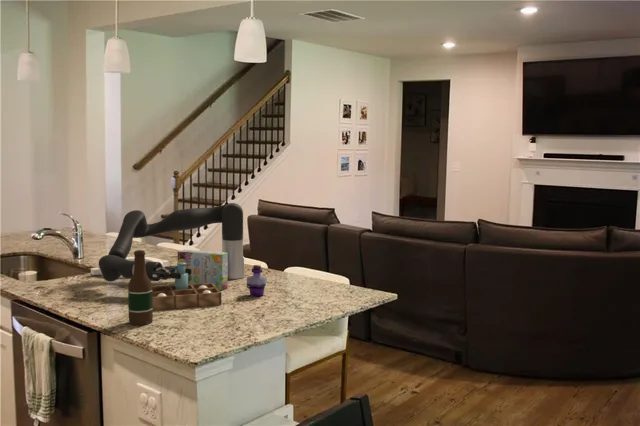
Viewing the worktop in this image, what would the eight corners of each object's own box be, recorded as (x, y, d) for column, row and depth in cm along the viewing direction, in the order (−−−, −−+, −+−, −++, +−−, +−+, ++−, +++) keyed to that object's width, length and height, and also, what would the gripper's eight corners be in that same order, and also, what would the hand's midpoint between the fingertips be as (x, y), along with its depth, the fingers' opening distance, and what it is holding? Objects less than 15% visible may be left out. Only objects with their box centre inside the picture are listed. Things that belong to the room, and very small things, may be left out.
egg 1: (166, 302, 221) (166, 291, 220) (168, 305, 217) (168, 294, 217) (155, 303, 219) (155, 292, 219) (156, 305, 216) (156, 294, 215)
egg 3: (211, 299, 227) (211, 288, 226) (213, 301, 223) (213, 291, 222) (200, 299, 225) (200, 289, 225) (202, 302, 221) (202, 291, 221)
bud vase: (186, 295, 232) (187, 261, 231) (188, 298, 227) (189, 264, 226) (174, 295, 230) (174, 262, 229) (175, 298, 226) (176, 264, 224)
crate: (212, 294, 237) (212, 282, 237) (221, 304, 221) (221, 292, 221) (146, 298, 228) (146, 286, 228) (150, 310, 212) (150, 297, 212)
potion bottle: (243, 293, 239) (243, 264, 238) (263, 291, 243) (264, 262, 241) (249, 298, 231) (249, 268, 230) (270, 296, 235) (270, 266, 234)
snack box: (228, 288, 248) (228, 252, 247) (221, 291, 243) (221, 254, 242) (183, 283, 255) (183, 248, 254) (176, 286, 250) (176, 250, 248)
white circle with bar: (171, 267, 290) (171, 257, 289) (149, 280, 262) (149, 269, 262) (115, 265, 292) (115, 256, 292) (87, 277, 265) (87, 267, 264)
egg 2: (207, 294, 234) (207, 284, 234) (209, 296, 230) (209, 286, 230) (197, 294, 233) (197, 284, 232) (198, 297, 229) (198, 286, 229)
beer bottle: (131, 319, 201) (130, 248, 199) (155, 319, 202) (154, 248, 199) (125, 326, 193) (124, 252, 191) (150, 325, 194) (149, 252, 191)
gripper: (137, 264, 224) (177, 267, 220) (156, 258, 238) (194, 260, 234) (137, 284, 225) (177, 287, 221) (157, 276, 238) (194, 279, 234)
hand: (186, 273), depth 227 cm, fingers open, 8 cm apart
